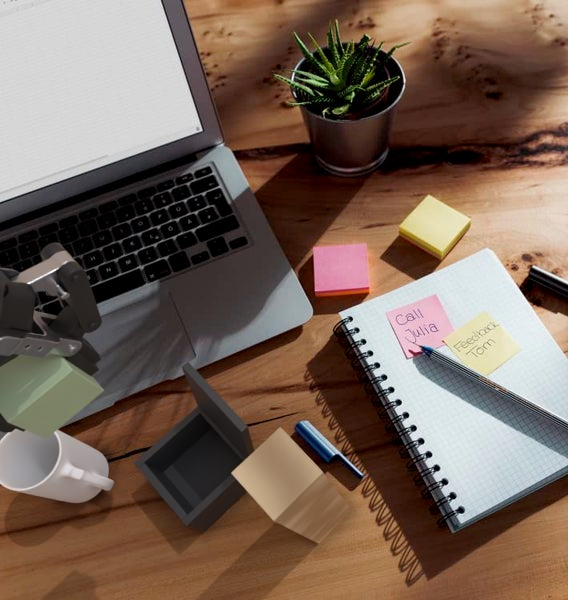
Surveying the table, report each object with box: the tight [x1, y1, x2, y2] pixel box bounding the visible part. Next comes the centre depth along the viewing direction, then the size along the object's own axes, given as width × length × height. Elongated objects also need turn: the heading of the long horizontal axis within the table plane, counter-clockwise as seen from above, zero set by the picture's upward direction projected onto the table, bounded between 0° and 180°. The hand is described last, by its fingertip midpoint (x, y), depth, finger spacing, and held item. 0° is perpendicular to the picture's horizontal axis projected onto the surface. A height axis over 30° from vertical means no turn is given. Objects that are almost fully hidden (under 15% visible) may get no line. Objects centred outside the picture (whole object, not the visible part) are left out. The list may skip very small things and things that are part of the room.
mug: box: [0, 429, 115, 504], centre depth 70 cm, size 10×7×12 cm, turn 71°
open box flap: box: [181, 361, 255, 458], centre depth 67 cm, size 10×9×1 cm
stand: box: [231, 426, 352, 545], centre depth 62 cm, size 5×5×26 cm
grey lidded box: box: [133, 405, 248, 532], centre depth 73 cm, size 9×9×7 cm
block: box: [0, 354, 105, 439], centre depth 41 cm, size 4×4×4 cm
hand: (54, 390), depth 43 cm, fingers closed on block, 4 cm apart
